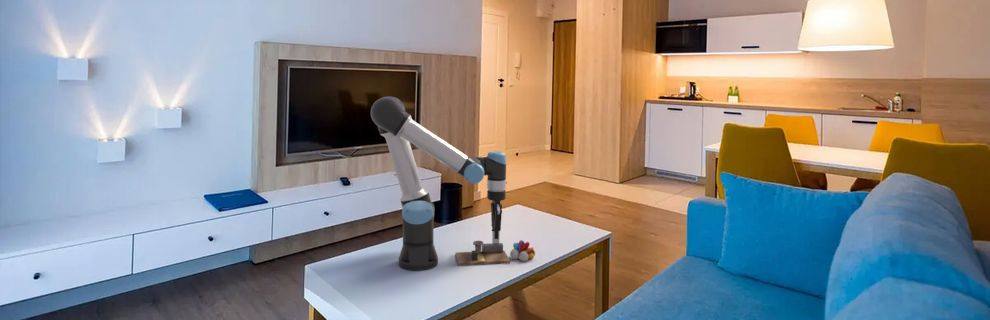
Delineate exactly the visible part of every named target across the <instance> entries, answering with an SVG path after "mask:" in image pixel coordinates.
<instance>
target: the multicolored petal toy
mask: <svg viewBox="0 0 990 320" xmlns="http://www.w3.org/2000/svg"><path fill="white" fill-rule="evenodd" d="M512 246H513V248H512V249H511V251H510V253H509V255H510V258H511V259H513V260H518V259H519V260H520V261H521V262H527V261H529V259H533V258H534V257H535V256H536V250H535V249H534V247H529V246H530V242H529V241H526V242H525V241H524V240H522V239H521V240H519V241H518V242H514V243H513V245H512Z"/></svg>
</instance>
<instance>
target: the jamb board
mask: <svg viewBox="0 0 990 320" xmlns="http://www.w3.org/2000/svg"><path fill="white" fill-rule="evenodd" d="M483 244H484V241H482V240H475V241H473V242H472V245H473V246H474V249H475V250H471V251H463V252H455V258H456V261H457V266H459V267H460V266H481V265H482V266H483V265H497V264H498V265H499V264H510V263H511V260H510V258H509V256H508V255H507V253H506V251H505V250H503V252H490V253H482V245H483Z"/></svg>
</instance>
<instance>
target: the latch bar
mask: <svg viewBox="0 0 990 320" xmlns="http://www.w3.org/2000/svg"><path fill="white" fill-rule="evenodd" d="M481 251H482V253H490V252H503V251H504V244H503V242H499V243H492V242H490V243H483V245H481Z"/></svg>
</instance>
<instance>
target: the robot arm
mask: <svg viewBox="0 0 990 320" xmlns="http://www.w3.org/2000/svg"><path fill="white" fill-rule="evenodd" d="M370 117H371V120H372V121H373V122H374V124H375V125H376V126H377V129H378V132H379V135H380V136H382V137H384V139H385V141H386V145H387V147H388V152H389V155H390V156H391V161H392V164H393V167H394V170H395V174H396V177H397V180H398V184H399V187H400V191H401V193H402V195H401V197H400V199H399V200H400V204H401V206H402V211H401V216H402V217H401V218H402V219H401V220H402V247H401V250H400V253H399V256H398V260H397V261H398V266H399V267H400V268H401V269H403V270H408V271H426V270H430V269H433V268H435V267H437V266H438V265H439V256H438V253H437V250H436V247H435V244H434V238H435V237H434V220H435V219H434V218H435V211H436V210H435V205H434V203H433V201H432V199H431V196H430V193H429V191H428V190H427V189H425V188H424V186H423V182H422V179H421V177H420V173H419V169H418V166H417V162H416V159H415V156H414V153H413V149H412V146H411V144H412V145H414V146H415V147H417V148H418V149H420V150H421V151H422V152H425V153H426V154H427V155H429V156H431V157H432V158H434V159H436V160H437V161H438V162H440V163H442V164H443V165H444V166H446V167H448V168H450V169H451V170H452V171H454V172H456V173H457V175H459V176H460V177H463V178H464V179H465V180H466V181H467V182H468V183H470V184H478V183H480V182H482V181H483V180H484V177H485V176H487V178H486V179H487V181H486V188H487V191H486V198H487V200H489V201H491V203H490V215H491V217H490V219H491V232H492V235H491V237H492V238H491V239H492V240H491V243H500V231H501V230H502V229H501V228H502V215H503V209H502V208H503V206H502V205H503V204H501V201H504V200H505V199H506V197H507V196H506V195H507V194H506V193H507V191H506V189H507V188H506V187H507V186H506V185H507V184H508V181H507V154H506V153H505V152H503V151H496V150H495V151H489V152H487V156H483V157H482V156H468V155H467V154H465V153H464V152H462V151H461V150H459V149H457V147H455V146H453V145H452V144H450V143H449V142H447V141H446V140H444V139H443V138H441V137H439V136H438V135H437V134H435V133H434V132H432V131H430V130H429V129H428V128H426V127H424V126H423V125H421V124H420V123H418V122H417V121H415V120H414V119H413V118H412V115H411V114H410V113H408V112H407V111H406V107H405V105H404V103H403V102H402V101H401V100H400V99H399V98H397V97H394V96H392V95H391V96H389V95H388V96H383V97H381V98H379V99H377V100H376V101H374V103H373V104H372V105H371V108H370Z"/></svg>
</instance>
